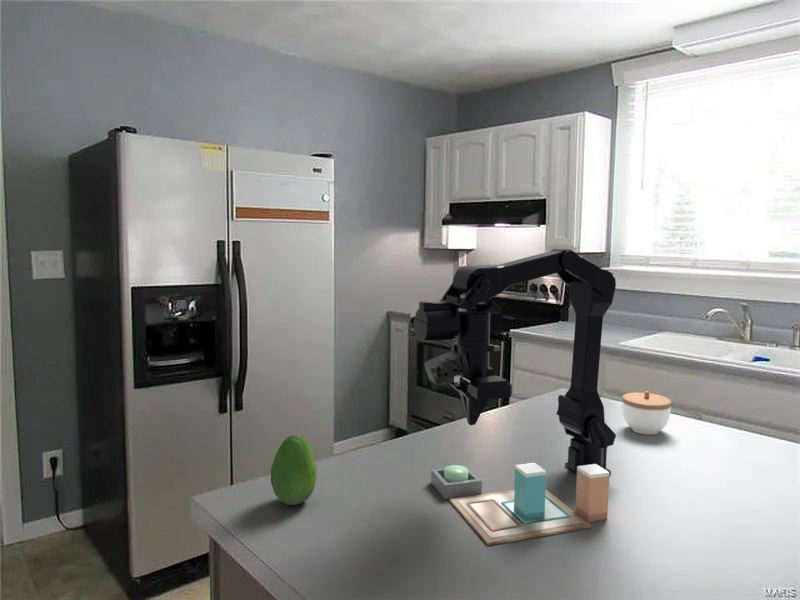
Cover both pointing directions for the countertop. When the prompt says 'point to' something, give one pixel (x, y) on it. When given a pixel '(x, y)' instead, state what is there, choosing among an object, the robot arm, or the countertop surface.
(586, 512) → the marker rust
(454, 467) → the button
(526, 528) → the colouring board
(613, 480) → the countertop surface
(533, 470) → the teal white tall block
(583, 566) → the countertop surface
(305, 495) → the avocado
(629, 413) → the lidded jar
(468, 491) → the button pad
